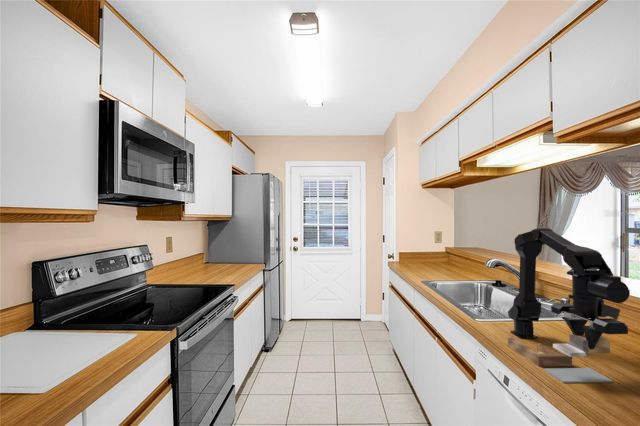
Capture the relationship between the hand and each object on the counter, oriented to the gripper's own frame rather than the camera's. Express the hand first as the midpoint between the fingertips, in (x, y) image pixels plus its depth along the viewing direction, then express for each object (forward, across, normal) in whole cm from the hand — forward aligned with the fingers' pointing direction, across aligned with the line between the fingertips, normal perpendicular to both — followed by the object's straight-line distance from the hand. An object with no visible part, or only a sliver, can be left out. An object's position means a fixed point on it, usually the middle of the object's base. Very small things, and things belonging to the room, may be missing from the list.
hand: (586, 346), depth 86 cm
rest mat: (+8, 0, +3) cm, 9 cm away
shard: (+9, +14, +2) cm, 17 cm away
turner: (+1, 0, +1) cm, 2 cm away
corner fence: (+8, +13, +5) cm, 16 cm away
